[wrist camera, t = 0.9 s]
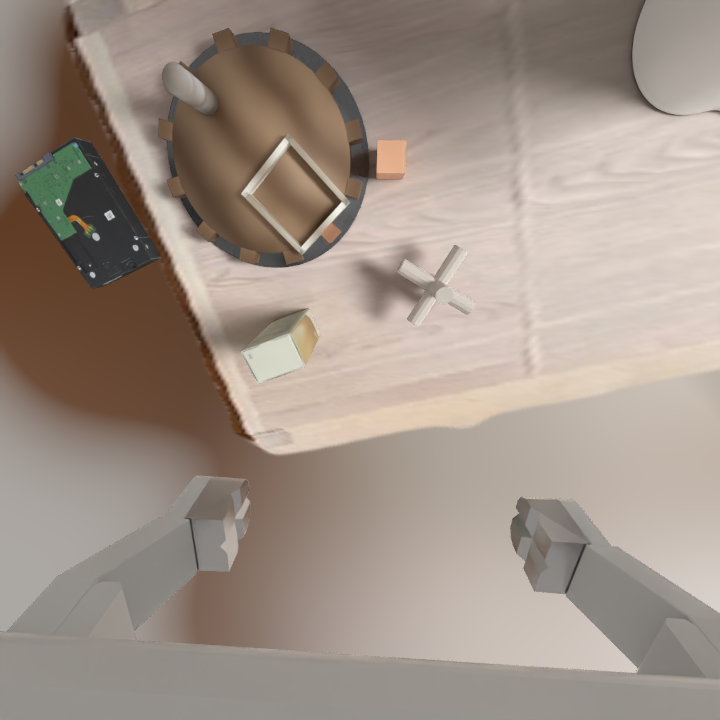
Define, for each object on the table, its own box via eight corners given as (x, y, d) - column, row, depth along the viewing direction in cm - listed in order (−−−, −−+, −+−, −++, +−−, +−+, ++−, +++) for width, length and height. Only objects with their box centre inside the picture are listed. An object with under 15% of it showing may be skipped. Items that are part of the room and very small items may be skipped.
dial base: (253, -29, 34) (251, -33, 33) (410, 165, 39) (411, 164, 39) (132, 163, 41) (128, 162, 40) (280, 303, 46) (278, 304, 46)
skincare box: (283, 348, 49) (255, 386, 38) (270, 322, 48) (236, 352, 36) (323, 334, 48) (306, 368, 37) (310, 306, 46) (289, 333, 35)
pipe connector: (378, 294, 45) (379, 312, 36) (419, 225, 42) (431, 226, 33) (439, 330, 47) (455, 356, 38) (484, 266, 43) (513, 278, 34)
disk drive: (165, 256, 45) (91, 139, 40) (153, 258, 43) (72, 134, 38) (107, 286, 47) (30, 179, 42) (92, 290, 45) (8, 176, 40)
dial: (251, -26, 33) (214, -99, 26) (405, 163, 39) (412, 148, 31) (132, 162, 40) (76, 147, 32) (277, 299, 45) (258, 314, 38)
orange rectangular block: (376, 179, 40) (376, 173, 35) (377, 150, 39) (377, 140, 34) (401, 179, 40) (404, 173, 35) (403, 150, 39) (406, 140, 34)
